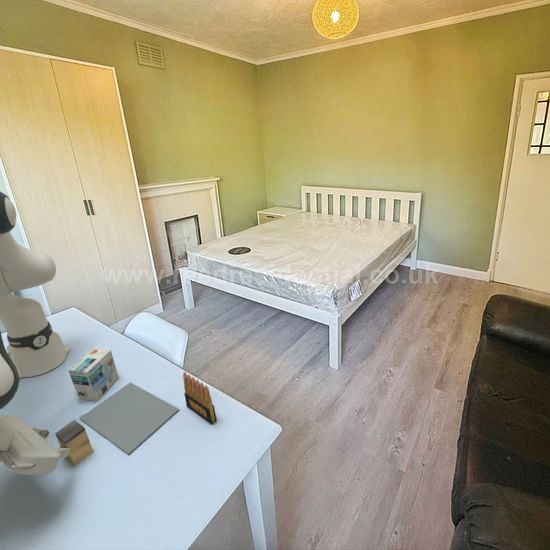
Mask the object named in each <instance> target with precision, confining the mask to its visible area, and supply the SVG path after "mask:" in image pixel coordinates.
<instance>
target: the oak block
mask: <svg viewBox="0 0 550 550" xmlns="http://www.w3.org/2000/svg"><path fill="white" fill-rule="evenodd" d="M54 435H55V437H56V439H57V442H58V444H59V446H64V447H65V446H67V447H68V448H69V449H70V453H69V455H68V456H67V457H66V458H65V459H66V460H68V461H69V462H70V463H71V464H72V465H73V466H75V467H76V466H78V464H79V463H81V462H82V461H84V460H85V459H86V458H87V457H89V456H90V455H91V454H92V453H94V449H93V447H92V443H91V441H90V439H89V436H88V433H87V430H86V428H85V426H83V425H82V424H80V423H79V422H78V421H77V420H76V419H73V420H72V421H71V422H69V423H68V424H66V425H64V426H63V427H62V428H60V429H59V430H57V431H56V432H55V433H54Z"/></svg>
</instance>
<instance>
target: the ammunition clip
mask: <svg viewBox="0 0 550 550" xmlns="http://www.w3.org/2000/svg"><path fill="white" fill-rule="evenodd" d="M182 378H183V387H184V399H185V403H186V404H185V405H186V408H188V409H189V410H191V411H192V412H193V413H194V414H196V415H197V416H199V417H200V418H202V419H203V420H204V421H206V422H207V423H209V425H213V424H214V423H215V422H216V421H217V414H216V409H215V405H214V404H213V400H212V396H211V393H210V390H209V387H208V386H207V385H204V384H203V382H199V380H198V379H196V378H195V377H193V376H192V377H191V375H190V374H187V373H186V371H183V375H182Z"/></svg>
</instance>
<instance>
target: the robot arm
mask: <svg viewBox="0 0 550 550" xmlns="http://www.w3.org/2000/svg"><path fill="white" fill-rule="evenodd" d="M16 220H17V210H16V208H15V205H14V203H13V202H12V201H11V199H10V198H9V196H8V195H6V193H3V191H0V322H1V324H2V325H3V327H4V330H5V331H6V334H7V335H6V339H7V342H8V345H7V346H6V347H5V344H4V340H3V336H2V332H1V331H0V410H2V409H3V408H5V407H6V406H7V405H8V404H9V403H10V402H11V401H12V400H13V398H14V397H15V395H16V394H17V391H18V389H19V385H20V379H21V378H30V377H31V378H32V377H37V376H40V375H43V374H46V373H47V372H50V371H52V370H54V369H55V368H58V367H59V366H60V365H61V364H62V363H63V362H64V361H65V360H66V357H67V355H68V353H70V351H71V347H70V346H68V345H65V343H64V341H63V340H62V338H61V336H60V333H58V332H56V331H54V330H53V326H52V324H51V323H50V321H48V319H47V316H46V314H45V311H44V309H43V305H42V304H41V303H40V302H39V301H37V300H36V299H33V298H28V297H20V296H18V295H15V294H13V293H15V292H18V291H23V290H28V289H32V288H36V287H37V288H38V287H40V286H42V285H44V284H46V283H49V282H51V281H53V279H54V278H55V276H56V273H57V266H56V263H55V261H54V260H53V258H52V257H50V255H48V254H47V253H45V252H42V251H41V252H40V251H35V250H32V249H29V248H27V247H24V246H23V245H21V244H20V243H18V242H17V241H16V240H15V238H14V237H13V236H12V233H11V231H12V230H13V229H14V228H15V227H16V222H17V221H16ZM49 434H50V431H49V430H48V428H40V427H36V426H34V425H29V424H28V423H27V422H25V420H23V419H22V418H21V417H18V416H14V415H10V414H9V415H8V414H0V463H3V465H4V467H6V468H7V469H8V470H9V471H10V472H11V473H13V474H16V475H23V476H24V475H25V476H26V475H28V476H29V475H30V476H34V475H37V476H38V475H48V474H51V473H52V472H54V470H55V468H56V467H57V465H58V464H59V461H60V459H67V458H66V457H67V456H68V455H69V453H70V449H69V448H68V447H67V446H65V447H64V446H60V445H59V446H60V447H59V448H58V449H57V448H55V447H53V446H52V445H51V444H50V443H49V441H47V438H48V437H49Z"/></svg>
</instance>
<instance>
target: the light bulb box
mask: <svg viewBox="0 0 550 550" xmlns="http://www.w3.org/2000/svg"><path fill="white" fill-rule="evenodd" d="M114 360H115V359H114V356H113V354H112V350H109V349H98V348H92V349H91V350H90V351H88V352H87V353H86V354H85V355H84V356H83V357H82V358H81V359H79V360H78V361H77V362H76V363H75V364H74V365H72V366H71V367H70V368H68V369H67V371H68V373H69V376H70V379H71V382H72V384H73V387H74V389H75V393H76V394H77V398H78V399H79V400H85V401H86V400H87V401H93V402H98V401H99V400H100V399H101V398H102V397H103V396H104V395H105V394H106V392H108V390H109V389H110V388H111V387H112V386H113V385H114V384H115V383H116V382H117V381H118V379H120V376H119V374H118V370H117V367H116V363H115V361H114Z"/></svg>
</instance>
